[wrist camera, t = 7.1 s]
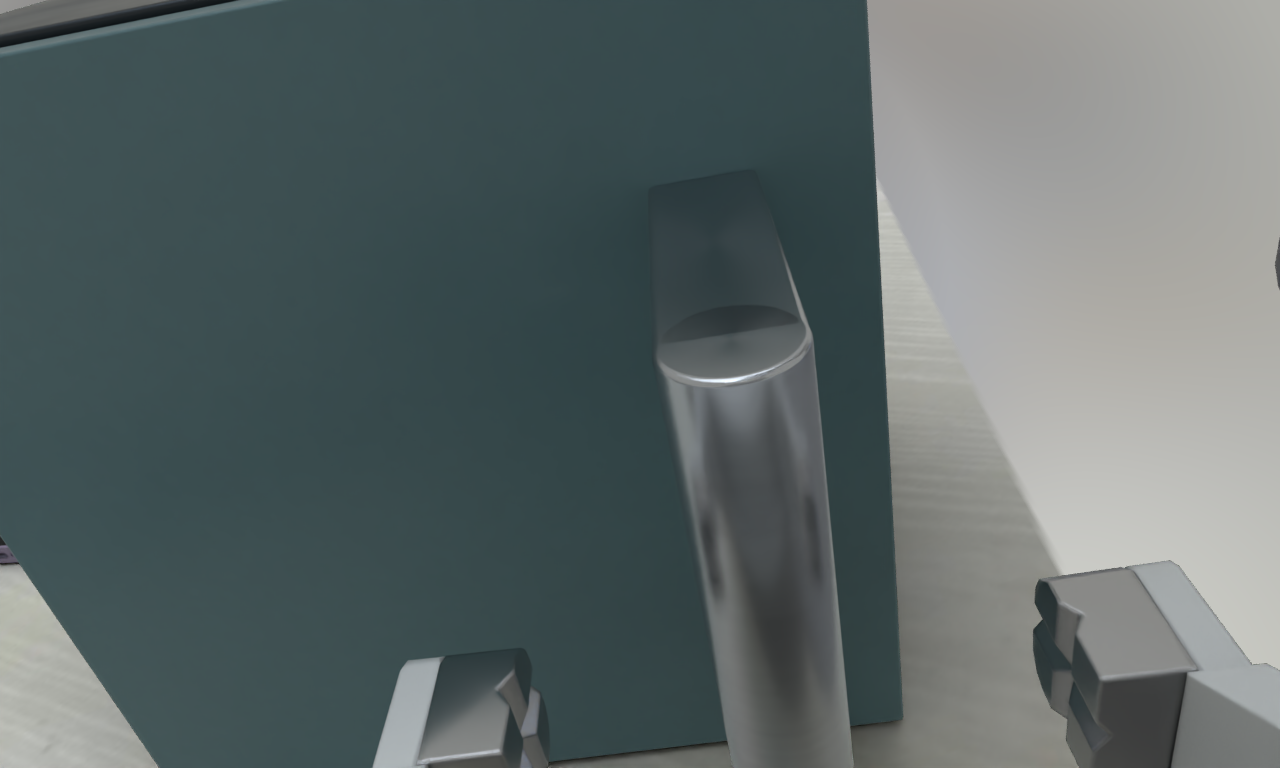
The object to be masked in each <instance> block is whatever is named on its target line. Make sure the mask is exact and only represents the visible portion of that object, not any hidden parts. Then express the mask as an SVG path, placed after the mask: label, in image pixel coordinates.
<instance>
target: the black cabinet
mask: <svg viewBox="0 0 1280 768" xmlns="http://www.w3.org/2000/svg"><path fill="white" fill-rule="evenodd" d="M233 1H238V0H47V1H43V2H40V3H36V4H33V5H30V6H26V7H23V8H19V9H16V10H13V11H9V12H6V13H2V14H0V48H2V47H7V46H12V45H17V44H22V43H27V42H32V41H37V40H42V39H47V38H52V37H57V36H62V35H67V34H72V33H77V32H82V31H87V30H92V29H97V28H102V27H108V26H113V25H118V24H123V23H128V22H133V21H138V20H143V19H148V18H153V17H158V16H163V15H168V14H173V13H178V12H183V11H188V10H193V9H198V8H203V7H208V6H213V5H218V4H223V3H228V2H233Z"/></svg>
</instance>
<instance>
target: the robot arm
mask: <svg viewBox="0 0 1280 768" xmlns="http://www.w3.org/2000/svg"><path fill="white" fill-rule="evenodd" d="M1035 605H1036V607H1037V609H1038V611H1039V613H1040V615H1041V617H1042V619H1043V620H1042V621H1041V622H1040V623H1039V624H1038V625H1037V626H1036V627H1035V628H1034V629H1033V652H1034V658H1035V664H1036V670H1037V674H1038V677H1039V680H1040V683H1041V686H1042V689H1043V691H1044V694H1045V696H1046V698H1047V700H1048V703H1049V705H1050V707H1051V709H1053V710H1054V711H1056V712H1057V713H1059V714H1060V715H1062V716H1063V717H1065V718H1066V719H1067V732H1066V741H1067V743H1068V746H1069V748H1070V750H1071V752H1072V754H1073V756H1074V758H1075V760H1076V762H1077V764H1078V766H1079V768H1280V670H1278V669H1276V668H1274V667H1272V666H1270V665H1268V664H1267V663H1264V664H1253V665H1252V663H1251V662H1250V661H1249V659H1248V658H1247V657H1246V655H1245V654H1244V653H1243V651H1242V650H1241V648H1240V647H1239V646H1238V645H1237V643H1236V642H1235V641H1234V639H1233V638H1232V637H1231V635H1230V634H1229V632H1228V631H1227V630H1226V629H1225V627H1224V626H1223V624H1222V623H1221V622H1220V620H1219V619H1218V618H1217V616H1216V615H1215V614H1214V612H1213V611H1212V609H1211V608H1210V607H1209V606H1208V604H1207V603H1206V601H1205V600H1204V599H1203V597H1202V596H1201V595H1200V593H1199V592H1198V591H1197V589H1196V588H1195V587H1194V585H1193V584H1192V583H1191V581H1190V580H1189V579H1188V578H1187V576H1186V575H1185V573H1184V572H1183V570H1182V569H1181V568H1180V566H1179V565H1177V564H1175V563H1174V562H1172V561H1170V560H1169V561H1162V562H1155V563H1148V564H1142V565H1134V566H1128V567H1125V568H1122V567H1119V568H1112V569H1105V570H1099V571H1091V572H1084V573H1077V574H1070V575H1063V576H1056V577H1049V578H1042V579H1039V581H1038V583H1037V585H1036V589H1035ZM532 669H533V667H532V665H531V662H530V659H529V657H528V654H527V652H526V649H523V648H513V649H504V650H494V651H485V652H475V653H466V654H457V655H447V656H445V657H436V658H426V659H416V660H408V661H407V662H406V663H405V665H404V666H403V668H402V669H401V670H400V673H399V676H398V680H397V683H396V686H395V690H394V693H393V697H392V700H391V704H390V707H389V711H388V714H387V718H386V721H385V725H384V728H383V732H382V735H381V739H380V742H379V746H378V749H377V753H376V756H375V760H374V763H373V767H372V768H548V766H549V753H550V737H549V721H548V716H547V711H546V706H545V703H544V700H543V697H542V693H541V692H540V691H539V690H537V689H536V688H534V687H533V686H531V678H532Z"/></svg>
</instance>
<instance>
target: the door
mask: <svg viewBox="0 0 1280 768" xmlns="http://www.w3.org/2000/svg"><path fill="white" fill-rule="evenodd" d="M0 536H1V538H2V539H3V541H4V542H5V543H6V545H7V546H8V548H9V549H10V551H11V552H12V554H13V555H14V557H15V558H16V560H17V561H18V562H19V564H20V565H21V567H22V568H23V570H24V571H25V573H26V574H27V576H28V577H29V579H30V580H31V581H32V583H33V584H34V586H35V587H36V589H37V590H38V592H39V593H40V595H41V596H42V597H43V599H44V600H45V602H46V603H47V605H48V606H49V608H50V609H51V611H52V612H53V614H54V615H55V616H56V618H57V619H58V621H59V622H60V624H61V625H62V627H63V628H64V630H65V631H66V632H67V634H68V635H69V637H70V638H71V640H72V641H73V643H74V644H75V646H76V647H77V649H78V650H79V651H80V653H81V654H82V656H83V657H84V659H85V660H86V662H87V663H88V665H89V666H90V667H91V669H92V670H93V672H94V673H95V675H96V676H97V678H98V679H99V681H100V682H101V684H102V685H103V686H104V688H105V689H106V691H107V692H108V694H109V695H110V697H111V698H112V700H113V701H114V702H115V704H116V705H117V707H118V708H119V710H120V711H121V713H122V714H123V716H124V717H125V719H126V720H127V721H128V723H129V724H130V726H131V727H132V729H133V730H134V732H135V733H136V735H137V736H138V737H139V739H140V740H141V742H142V743H143V745H144V746H145V748H146V749H147V751H148V752H149V754H150V755H151V756H152V758H153V759H154V761H155V762H156V764H157V765H158V767H159V768H372V767H373V763H374V760H375V756H376V753H377V749H378V746H379V742H380V739H381V735H382V732H383V728H384V725H385V721H386V718H387V714H388V711H389V707H390V704H391V700H392V697H393V693H394V690H395V686H396V683H397V680H398V676H399V673H400V670H401V669H402V668H403V666H404V665H405V663H406V662H407V661H408V660H416V659H426V658H436V657H445V656H447V655H457V654H466V653H475V652H485V651H494V650H504V649H513V648H523V649H526V652H527V654H528V657H529V659H530V662H531V665H532V667H533V669H532V678H531V686H533V687H534V688H536V689H537V690H539V691H540V692H541V693H542V697H543V700H544V703H545V706H546V711H547V716H548V721H549V737H550V753H549V762H551V761H560V760H568V759H577V758H585V757H593V756H602V755H610V754H619V753H627V752H635V751H644V750H652V749H661V748H669V747H677V746H686V745H694V744H703V743H711V742H719V741H727V742H728V747H729V752H730V757H731V762H732V767H733V768H854V763H853V752H852V742H851V731H850V726H854V725H862V724H871V723H879V722H888V721H896V720H902V719H903V703H902V684H901V664H900V644H899V624H898V605H897V585H896V565H895V545H894V526H893V506H892V486H891V467H890V447H889V427H888V407H887V388H886V368H885V348H884V328H883V309H882V289H881V269H880V249H879V230H878V210H877V190H876V171H875V151H874V132H873V112H872V92H871V72H870V52H869V32H868V13H867V0H238V1H233V2H228V3H223V4H218V5H213V6H208V7H203V8H198V9H193V10H188V11H183V12H178V13H173V14H168V15H163V16H158V17H153V18H148V19H143V20H138V21H133V22H128V23H123V24H118V25H113V26H108V27H102V28H97V29H92V30H87V31H82V32H77V33H72V34H67V35H62V36H57V37H52V38H47V39H42V40H37V41H32V42H27V43H22V44H17V45H12V46H7V47H2V48H0Z"/></svg>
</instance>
